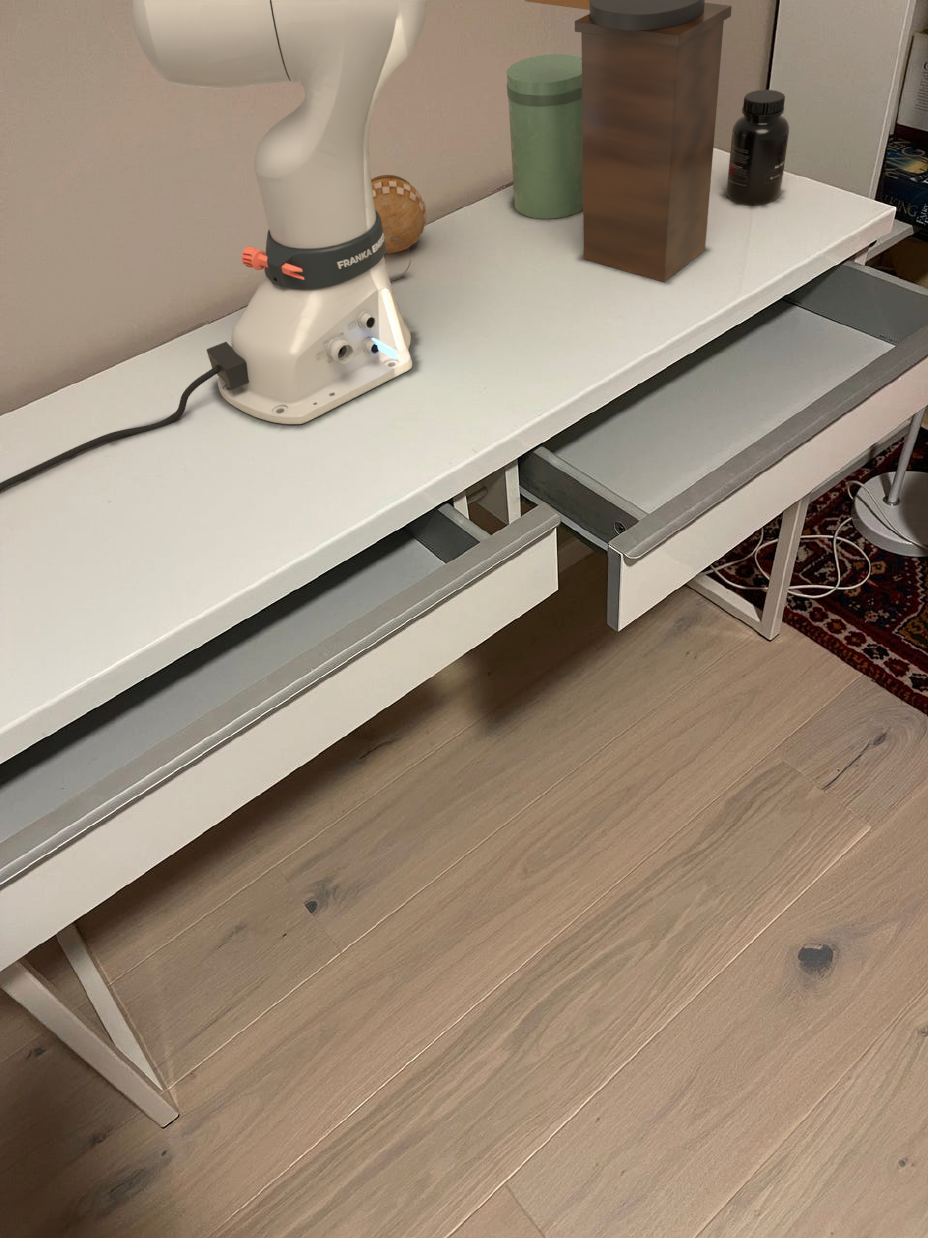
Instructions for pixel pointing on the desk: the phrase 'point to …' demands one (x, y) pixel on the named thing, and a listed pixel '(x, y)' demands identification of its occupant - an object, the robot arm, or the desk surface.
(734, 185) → the supplement bottle
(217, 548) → the desk surface
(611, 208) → the stand
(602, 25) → the lid
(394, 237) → the toy
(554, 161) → the tin
